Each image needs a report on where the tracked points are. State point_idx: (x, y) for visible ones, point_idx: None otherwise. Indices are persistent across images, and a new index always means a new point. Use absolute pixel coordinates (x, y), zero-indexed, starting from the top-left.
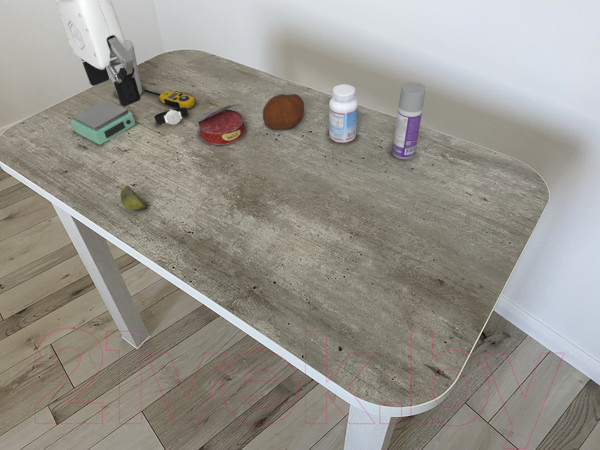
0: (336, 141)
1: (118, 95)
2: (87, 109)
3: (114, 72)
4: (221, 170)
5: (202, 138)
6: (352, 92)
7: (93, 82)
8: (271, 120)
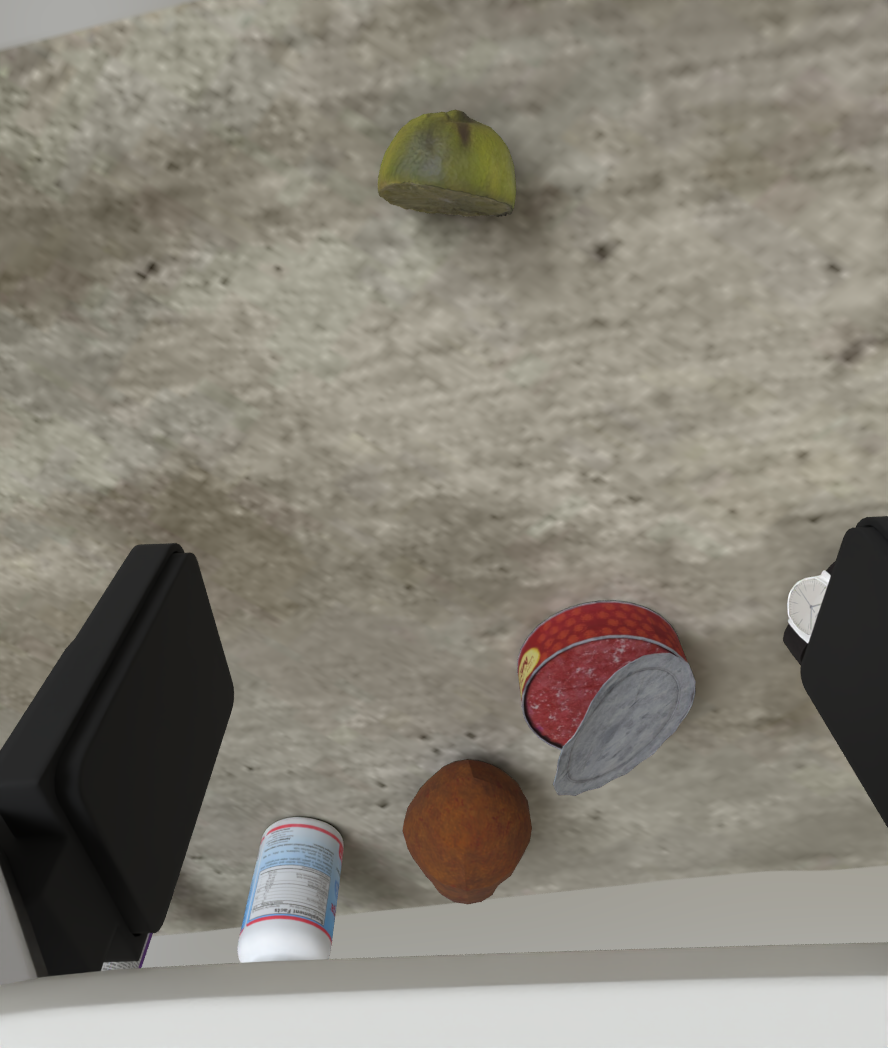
0: (286, 818)
1: (97, 630)
2: None
3: None
4: (411, 550)
5: (625, 604)
6: None
7: (865, 555)
8: (447, 793)
